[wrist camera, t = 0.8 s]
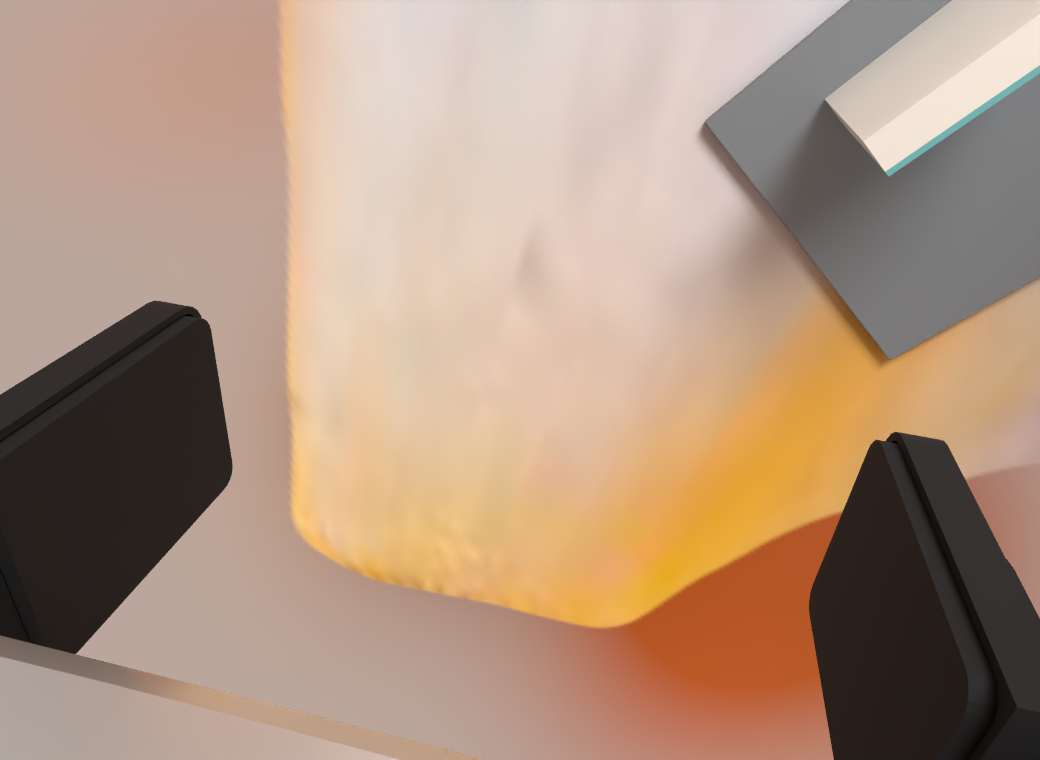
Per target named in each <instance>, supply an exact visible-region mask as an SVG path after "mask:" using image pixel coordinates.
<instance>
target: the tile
mask: <svg viewBox="0 0 1040 760" xmlns="http://www.w3.org/2000/svg"><path fill="white" fill-rule="evenodd" d="M1039 73H1040V0H952V1H950V2H949V3H948V4H947V5H945V6H944V7H943V8H941V9H940V10H939V11H938V12H936V13H935V14H934V15H932V16H931V17H930V18H929V19H927V20H926V21H925V22H923V23H922V24H921V25H919V26H918V27H917V28H916V29H914V30H913V31H912V32H910V33H909V34H908V35H907V36H905V37H904V38H903V39H901V40H900V41H899V42H897V43H896V44H895V45H894V46H892V47H891V48H890V49H888V50H887V51H886V52H885V53H883V54H882V55H881V56H879V57H878V58H877V59H876V60H874V61H873V62H872V63H870V64H869V65H868V66H866V67H865V68H864V69H863V70H861V71H860V72H859V73H857V74H856V75H855V76H854V77H852V78H851V79H850V80H848V81H847V82H846V83H844V84H843V85H842V86H841V87H839V88H838V89H837V90H835V91H834V92H833V93H832V94H830V95H829V96H828V97H826V98H825V100H826V102H827V103H828V105H829V106H830V107H831V109H832V110H833V112H834V113H835V114H836V116H837V117H838V118H839V120H840V121H841V123H842V124H843V125H844V127H845V128H846V129H847V130H848V131H849V132H850V134H851V135H852V136H853V137H854V138H855V139H856V140H857V142H858V143H859V144H860V145H861V146H862V147H863V148H864V149H865V151H866V152H867V153H868V154H869V155H870V156H871V157H872V159H873V160H874V161H875V162H876V163H877V164H878V165H879V166H880V168H881V169H882V170H883V171H884V172H885V173H886V174H887V176H888V177H889V176H891V175H892V174H893V173H895V172H896V171H898V170H899V169H901V168H902V167H904V166H905V165H907V164H908V163H910V162H911V161H912V160H914V159H915V158H917V157H918V156H920V155H921V154H923V153H924V152H926V151H927V150H929V149H930V148H931V147H933V146H934V145H936V144H937V143H939V142H940V141H942V140H943V139H945V138H946V137H947V136H949V135H950V134H952V133H953V132H955V131H956V130H958V129H959V128H961V127H962V126H964V125H965V124H966V123H968V122H969V121H971V120H972V119H974V118H975V117H977V116H978V115H980V114H981V113H983V112H984V111H985V110H987V109H988V108H990V107H991V106H993V105H994V104H996V103H997V102H999V101H1000V100H1002V99H1003V98H1004V97H1006V96H1007V95H1009V94H1010V93H1012V92H1013V91H1015V90H1016V89H1018V88H1019V87H1021V86H1022V85H1023V84H1025V83H1026V82H1028V81H1029V80H1031V79H1032V78H1034V77H1035V76H1037V75H1038V74H1039Z"/></svg>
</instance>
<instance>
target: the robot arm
mask: <svg viewBox="0 0 1040 760" xmlns="http://www.w3.org/2000/svg"><path fill="white" fill-rule="evenodd" d="M231 474H232V458H231V452H230V446H229V439H228V433H227V427H226V421H225V414H224V408H223V402H222V396H221V389H220V383H219V377H218V371H217V365H216V359H215V352H214V346H213V340H212V334H211V329H210V325H209V324H208V322H207V321H206V320H204V319H202V318H201V315H200V314H199V312H198V310H196V309H195V308H193V307H189V306H184V305H178V304H172V303H167V302H161V301H152V302H150V303H147V304H146V305H144V306H143V307H141V308H139V309H138V310H136V311H134V312H133V313H131V314H130V315H128V316H126V317H125V318H123V319H122V320H120V321H119V322H117V323H115V324H114V325H112V326H111V327H109V328H107V329H105V330H104V331H102V332H101V333H99V334H97V335H96V336H94V337H93V338H91V339H90V340H88V341H86V342H85V343H83V344H81V345H80V346H78V347H77V348H75V349H73V350H72V351H70V352H68V353H67V354H65V355H64V356H62V357H60V358H59V359H57V360H56V361H54V362H52V363H51V364H49V365H47V366H46V367H44V368H43V369H41V370H39V371H38V372H36V373H35V374H33V375H31V376H30V377H28V378H27V379H25V380H24V381H22V382H20V383H18V384H17V385H15V386H14V387H12V388H10V389H9V390H7V391H6V392H4V393H3V394H1V395H0V760H483V759H480V758H476V757H472V756H468V755H465V754H461V753H457V752H453V751H449V750H446V749H442V748H438V747H433V746H430V745H426V744H422V743H418V742H415V741H411V740H407V739H403V738H399V737H395V736H392V735H388V734H384V733H380V732H376V731H372V730H368V729H364V728H361V727H357V726H353V725H349V724H345V723H341V722H337V721H334V720H330V719H326V718H322V717H318V716H314V715H311V714H307V713H303V712H299V711H295V710H291V709H287V708H283V707H279V706H276V705H272V704H268V703H264V702H260V701H256V700H252V699H248V698H245V697H241V696H237V695H233V694H229V693H225V692H221V691H217V690H214V689H210V688H206V687H202V686H198V685H194V684H190V683H186V682H182V681H178V680H174V679H170V678H166V677H163V676H159V675H155V674H151V673H147V672H143V671H139V670H135V669H131V668H127V667H123V666H119V665H115V664H111V663H107V662H103V661H99V660H95V659H91V658H87V657H83V656H79V655H75V654H76V653H77V652H78V651H79V650H80V649H81V648H82V647H83V646H84V644H85V643H86V642H87V641H88V640H89V639H90V638H91V637H92V636H93V634H94V633H95V632H96V631H97V630H98V629H99V628H100V627H101V625H102V624H103V623H104V622H105V621H106V620H107V619H108V618H109V617H110V615H111V614H112V613H113V612H114V611H115V610H116V609H117V608H118V606H120V604H121V603H122V602H123V601H124V600H125V599H126V598H127V597H128V595H129V594H130V593H131V592H132V591H133V590H134V589H135V588H136V587H137V585H138V584H139V583H140V582H141V581H142V580H143V579H144V578H145V577H146V576H147V574H148V573H149V572H150V571H151V570H152V569H153V568H154V567H155V566H156V564H157V563H158V562H159V561H160V560H161V559H162V558H163V557H164V556H165V554H166V553H167V552H168V551H169V550H170V549H171V548H172V547H173V546H174V544H175V543H176V542H177V541H178V540H179V539H180V538H181V537H182V536H183V534H184V533H185V532H186V531H187V530H188V529H189V528H190V526H192V524H193V523H194V522H195V521H196V520H197V519H198V518H199V517H200V516H201V514H202V513H203V512H204V511H205V510H206V509H207V508H208V507H209V505H210V504H211V503H212V502H213V501H214V500H215V499H216V498H217V497H218V496H219V494H220V493H221V492H222V491H223V490H224V488H225V487H226V486H227V484H228V482H229V480H230V477H231ZM809 613H810V620H811V626H812V632H813V637H814V644H815V650H816V656H817V661H818V667H819V673H820V679H821V685H822V691H823V697H824V702H825V709H826V715H827V721H828V727H829V733H830V739H831V744H832V751H833V757H834V760H1040V619H1039V617H1038V615H1037V613H1036V611H1035V609H1034V607H1033V605H1032V603H1031V601H1030V599H1029V597H1028V595H1027V593H1026V591H1025V590H1024V588H1023V586H1022V584H1021V582H1020V580H1019V578H1018V576H1017V574H1016V572H1015V570H1014V569H1013V567H1012V566H1011V564H1010V563H1009V562H1008V560H1007V559H1005V557H1004V555H1003V553H1002V551H1001V549H1000V547H999V545H998V543H997V541H996V539H995V537H994V535H993V533H992V531H991V529H990V527H989V526H988V523H987V522H986V519H985V518H984V516H983V514H982V512H981V510H980V508H979V506H978V504H977V502H976V500H975V498H974V496H973V494H972V492H971V491H970V488H969V487H968V485H967V482H966V480H965V478H964V477H963V475H962V473H961V471H960V469H959V467H958V465H957V463H956V461H955V459H954V457H953V455H952V453H951V451H950V449H949V447H948V445H947V444H946V443H945V442H944V441H942V440H938V439H933V438H927V437H921V436H916V435H910V434H904V433H899V432H894V433H892V434H891V435H890V436H889V437H888V438H887V440H886V441H880V440H875V441H874V442H873V443H872V444H871V446H870V447H869V449H868V452H867V454H866V457H865V459H864V461H863V464H862V466H861V469H860V471H859V474H858V476H857V479H856V481H855V483H854V486H853V488H852V491H851V493H850V496H849V498H848V500H847V503H846V505H845V508H844V510H843V513H842V515H841V518H840V520H839V522H838V525H837V527H836V530H835V532H834V535H833V537H832V540H831V542H830V544H829V547H828V549H827V552H826V554H825V557H824V559H823V562H822V564H821V566H820V569H819V571H818V574H817V576H816V578H815V581H814V583H813V586H812V589H811V594H810V601H809Z"/></svg>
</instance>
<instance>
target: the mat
mask: <svg viewBox="0 0 1040 760" xmlns="http://www.w3.org/2000/svg"><path fill="white" fill-rule="evenodd" d="M950 1H952V0H850V1H849V2H848V3H847V4H845V5H844V6H843V7H842V8H841V9H839V10H838V11H837V12H836V13H835V14H833V15H832V16H831V17H830V18H828V19H827V20H826V21H825V22H824V23H822V24H821V25H820V26H819V27H818V28H816V29H815V30H814V31H813V32H812V33H810V34H809V35H808V36H807V37H806V38H804V39H803V40H802V41H801V42H800V43H798V44H797V45H796V46H795V47H794V48H792V49H791V50H790V51H789V52H788V53H786V54H785V55H784V56H783V57H781V58H780V59H779V60H778V61H777V62H775V63H774V64H773V65H772V66H771V67H769V68H768V69H767V70H766V71H765V72H763V73H762V74H761V75H760V76H759V77H757V78H756V79H755V80H754V81H753V82H751V83H750V84H749V85H748V86H747V87H745V88H744V89H743V90H742V91H741V92H739V93H738V94H737V95H736V96H734V97H733V98H732V99H731V100H730V101H728V102H727V103H726V104H725V105H724V106H722V107H721V108H720V109H719V110H718V111H716V112H715V113H714V114H713V115H712V116H710V117H709V118H708V119H707V120H706V121H705V123H706V124H707V125H708V127H709V128H710V129H711V131H712V132H713V133H714V134H715V136H716V137H717V138H718V140H719V141H720V142H721V143H722V145H723V146H724V147H725V149H726V150H727V151H728V152H729V154H730V155H731V156H732V158H733V159H734V160H735V161H736V163H737V164H738V165H739V167H740V168H741V169H742V170H743V172H744V173H745V174H746V176H747V177H748V178H749V179H750V181H751V182H752V183H753V185H754V186H755V187H756V188H757V190H758V191H759V192H760V194H761V195H762V196H763V197H764V199H765V200H766V201H767V203H768V204H769V205H770V206H771V208H772V209H773V210H774V212H775V213H776V214H777V215H778V217H779V218H780V219H781V221H782V222H783V223H784V224H785V226H786V227H787V228H788V230H789V231H790V232H791V233H792V235H793V236H794V237H795V238H796V240H797V241H798V242H799V244H800V245H801V246H802V247H803V249H804V250H805V251H806V253H807V254H808V255H809V256H810V258H811V259H812V260H813V262H814V263H815V264H816V265H817V267H818V268H819V269H820V271H821V272H822V273H823V274H824V276H825V277H826V278H827V280H828V281H829V282H830V283H831V285H832V286H833V287H834V289H835V290H836V291H837V292H838V294H839V295H840V296H841V298H842V299H843V300H844V301H845V303H846V304H847V305H848V307H849V308H850V309H851V310H852V312H853V313H854V314H855V316H856V317H857V318H858V319H859V321H860V322H861V323H862V325H863V326H864V327H865V328H866V330H867V331H868V332H869V334H870V335H871V336H872V337H873V339H874V340H875V341H876V343H877V344H878V345H879V346H880V348H881V349H882V350H883V352H884V353H885V354H886V355H887V357H888V358H889V359H890V360H891V359H893V358H895V357H896V356H898V355H900V354H902V353H904V352H905V351H907V350H909V349H911V348H912V347H914V346H916V345H918V344H920V343H921V342H923V341H925V340H927V339H929V338H930V337H932V336H934V335H936V334H938V333H939V332H941V331H943V330H945V329H947V328H948V327H950V326H952V325H954V324H956V323H957V322H959V321H961V320H963V319H965V318H966V317H968V316H970V315H972V314H974V313H975V312H977V311H979V310H981V309H983V308H984V307H986V306H988V305H990V304H992V303H993V302H995V301H997V300H999V299H1000V298H1002V297H1004V296H1006V295H1008V294H1009V293H1011V292H1013V291H1015V290H1017V289H1018V288H1020V287H1022V286H1024V285H1026V284H1027V283H1029V282H1031V281H1033V280H1035V279H1036V278H1038V277H1040V73H1039V74H1038V75H1037V76H1035V77H1034V78H1032V79H1031V80H1029V81H1028V82H1026V83H1025V84H1023V85H1022V86H1021V87H1019V88H1018V89H1016V90H1015V91H1013V92H1012V93H1010V94H1009V95H1007V96H1006V97H1004V98H1003V99H1002V100H1000V101H999V102H997V103H996V104H994V105H993V106H991V107H990V108H988V109H987V110H985V111H984V112H983V113H981V114H980V115H978V116H977V117H975V118H974V119H972V120H971V121H969V122H968V123H966V124H965V125H964V126H962V127H961V128H959V129H958V130H956V131H955V132H953V133H952V134H950V135H949V136H947V137H946V138H945V139H943V140H942V141H940V142H939V143H937V144H936V145H934V146H933V147H931V148H930V149H929V150H927V151H926V152H924V153H923V154H921V155H920V156H918V157H917V158H915V159H914V160H912V161H911V162H910V163H908V164H907V165H905V166H904V167H902V168H901V169H899V170H898V171H896V172H895V173H893V174H892V175H891V176H889V177H888V176H887V174H886V173H885V172H884V171H883V170H882V169H881V168H880V166H879V165H878V164H877V163H876V162H875V161H874V160H873V159H872V157H871V156H870V155H869V154H868V153H867V152H866V151H865V149H864V148H863V147H862V146H861V145H860V144H859V143H858V142H857V140H856V139H855V138H854V137H853V136H852V135H851V134H850V132H849V131H848V130H847V129H846V128H845V127H844V125H843V124H842V123H841V121H840V120H839V118H838V117H837V116H836V114H835V113H834V112H833V110H832V109H831V107H830V106H829V105H828V103H827V102H826V100H825V98H826V97H828V96H829V95H830V94H832V93H833V92H834V91H835V90H837V89H838V88H839V87H841V86H842V85H843V84H844V83H846V82H847V81H848V80H850V79H851V78H852V77H854V76H855V75H856V74H857V73H859V72H860V71H861V70H863V69H864V68H865V67H866V66H868V65H869V64H870V63H872V62H873V61H874V60H876V59H877V58H878V57H879V56H881V55H882V54H883V53H885V52H886V51H887V50H888V49H890V48H891V47H892V46H894V45H895V44H896V43H897V42H899V41H900V40H901V39H903V38H904V37H905V36H907V35H908V34H909V33H910V32H912V31H913V30H914V29H916V28H917V27H918V26H919V25H921V24H922V23H923V22H925V21H926V20H927V19H929V18H930V17H931V16H932V15H934V14H935V13H936V12H938V11H939V10H940V9H941V8H943V7H944V6H945V5H947V4H948V3H949V2H950Z"/></svg>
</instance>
